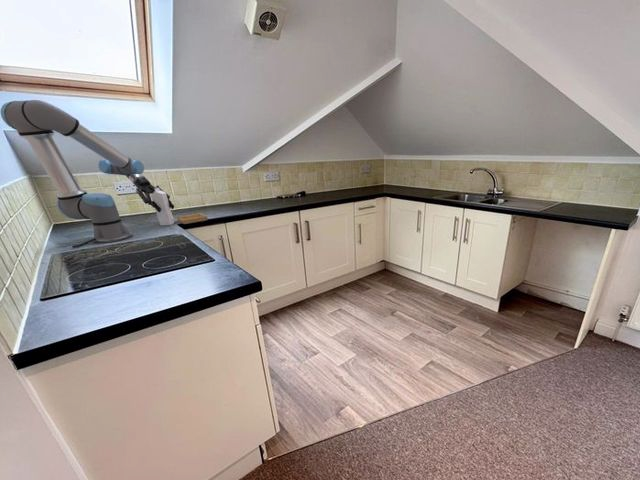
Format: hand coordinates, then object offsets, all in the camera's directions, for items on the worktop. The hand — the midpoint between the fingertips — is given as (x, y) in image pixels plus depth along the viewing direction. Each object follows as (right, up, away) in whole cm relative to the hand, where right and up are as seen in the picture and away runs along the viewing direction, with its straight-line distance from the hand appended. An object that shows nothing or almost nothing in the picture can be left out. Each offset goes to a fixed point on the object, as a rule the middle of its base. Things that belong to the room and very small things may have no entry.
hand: (166, 209), depth 182 cm
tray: (+8, -5, +13) cm, 16 cm away
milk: (-3, -9, +5) cm, 10 cm away
